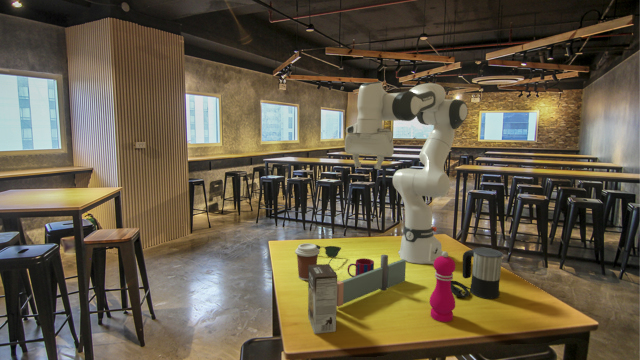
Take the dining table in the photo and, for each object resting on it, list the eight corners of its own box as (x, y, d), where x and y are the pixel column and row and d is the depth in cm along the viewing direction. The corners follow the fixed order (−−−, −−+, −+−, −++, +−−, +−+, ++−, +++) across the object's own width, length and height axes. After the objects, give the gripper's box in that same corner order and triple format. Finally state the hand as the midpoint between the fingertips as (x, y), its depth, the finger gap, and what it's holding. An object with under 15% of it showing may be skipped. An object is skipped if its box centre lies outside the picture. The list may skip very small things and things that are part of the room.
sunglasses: (293, 267, 145) (293, 255, 144) (305, 254, 161) (305, 243, 160) (332, 271, 141) (333, 259, 140) (341, 257, 157) (341, 246, 156)
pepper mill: (430, 309, 111) (433, 246, 108) (454, 313, 108) (459, 249, 105) (427, 319, 104) (431, 253, 101) (453, 325, 101) (458, 257, 99)
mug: (375, 282, 130) (376, 264, 130) (349, 283, 129) (349, 265, 128) (370, 275, 137) (370, 257, 136) (344, 276, 135) (345, 259, 134)
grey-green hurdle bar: (378, 286, 124) (379, 266, 123) (382, 288, 123) (383, 268, 122) (334, 304, 111) (334, 282, 110) (338, 306, 109) (338, 284, 108)
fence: (400, 279, 133) (402, 248, 132) (406, 281, 131) (407, 249, 130) (326, 310, 109) (326, 272, 107) (331, 313, 107) (331, 275, 106)
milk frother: (504, 293, 122) (507, 251, 120) (485, 309, 111) (489, 263, 109) (463, 281, 132) (465, 242, 130) (442, 294, 121) (445, 251, 119)
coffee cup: (316, 271, 140) (316, 241, 138) (321, 280, 131) (322, 249, 129) (293, 273, 138) (293, 243, 136) (296, 282, 129) (297, 250, 127)
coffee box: (307, 317, 105) (307, 264, 102) (328, 315, 106) (329, 263, 104) (313, 334, 96) (314, 276, 94) (336, 331, 97) (338, 274, 95)
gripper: (398, 129, 120) (396, 170, 121) (354, 129, 135) (353, 165, 137) (386, 128, 116) (384, 170, 117) (342, 128, 131) (341, 166, 133)
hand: (367, 168), depth 127 cm, fingers open, 8 cm apart
